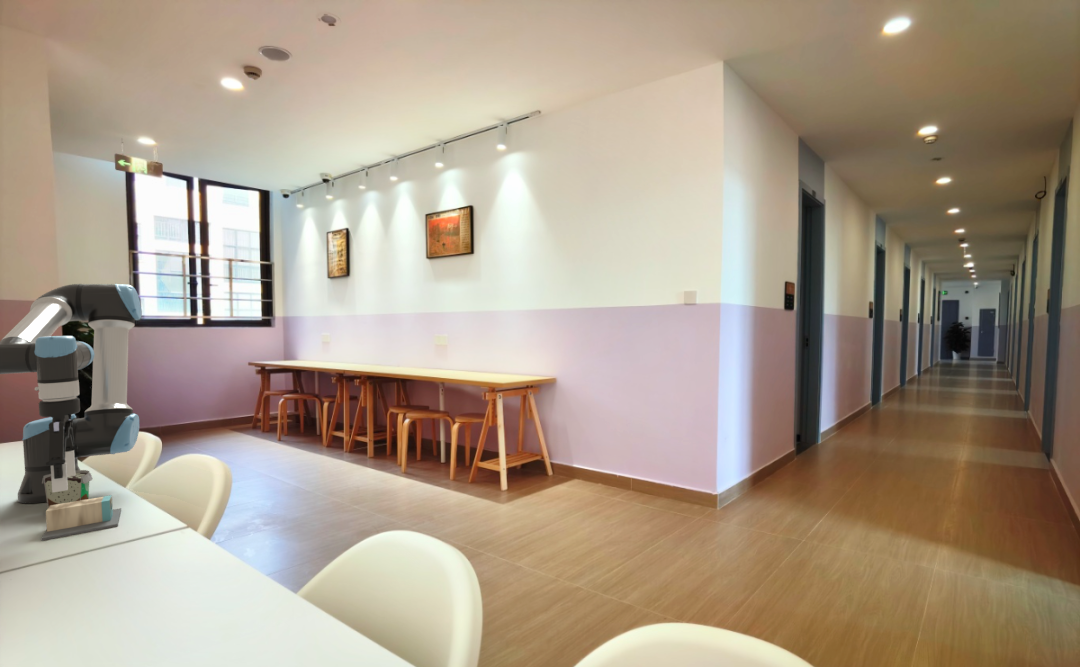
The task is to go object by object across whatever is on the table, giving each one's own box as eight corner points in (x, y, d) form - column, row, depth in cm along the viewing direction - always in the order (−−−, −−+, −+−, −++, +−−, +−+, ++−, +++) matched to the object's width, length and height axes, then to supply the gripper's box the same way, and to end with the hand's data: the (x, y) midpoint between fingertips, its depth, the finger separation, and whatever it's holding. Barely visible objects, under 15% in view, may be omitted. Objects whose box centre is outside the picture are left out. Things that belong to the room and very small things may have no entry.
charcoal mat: (51, 522, 136) (51, 520, 136) (121, 510, 144) (121, 508, 144) (41, 540, 125) (41, 538, 125) (117, 526, 133) (117, 523, 133)
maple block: (50, 505, 133) (111, 495, 139) (51, 525, 133) (112, 514, 140) (45, 511, 128) (109, 500, 135) (47, 532, 129) (110, 520, 135)
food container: (105, 505, 149) (104, 469, 149) (85, 513, 143) (83, 476, 142) (65, 504, 150) (64, 469, 150) (43, 512, 144) (41, 475, 144)
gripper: (47, 393, 140) (52, 473, 141) (28, 408, 119) (33, 501, 120) (85, 390, 144) (89, 468, 145) (72, 404, 123) (77, 494, 125)
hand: (64, 483), depth 133 cm, fingers open, 13 cm apart
